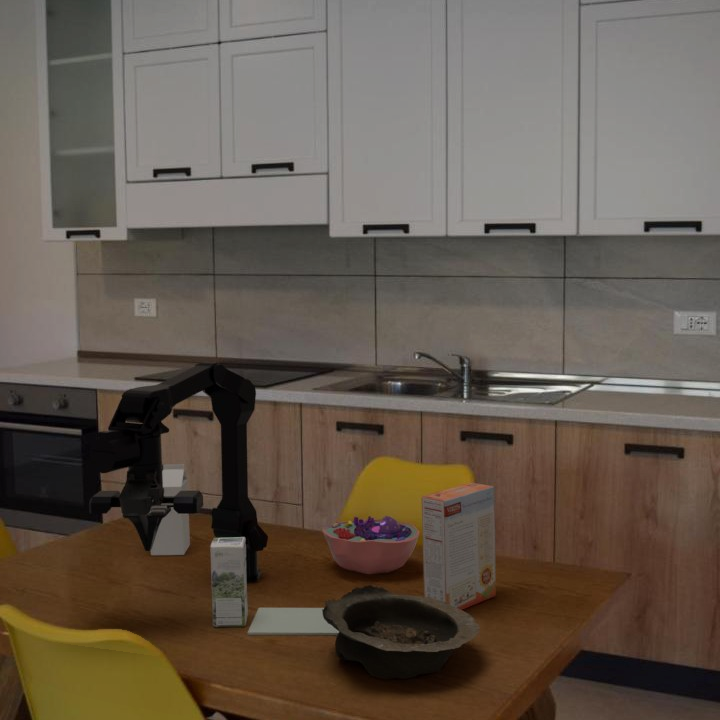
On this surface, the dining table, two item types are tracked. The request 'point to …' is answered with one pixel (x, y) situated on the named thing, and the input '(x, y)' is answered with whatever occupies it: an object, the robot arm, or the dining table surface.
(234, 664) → the dining table surface
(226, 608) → the syrup box
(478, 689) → the dining table surface
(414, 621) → the stone bowl
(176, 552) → the milk carton
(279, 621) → the mat
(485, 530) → the cracker box
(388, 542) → the cell model
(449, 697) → the dining table surface
